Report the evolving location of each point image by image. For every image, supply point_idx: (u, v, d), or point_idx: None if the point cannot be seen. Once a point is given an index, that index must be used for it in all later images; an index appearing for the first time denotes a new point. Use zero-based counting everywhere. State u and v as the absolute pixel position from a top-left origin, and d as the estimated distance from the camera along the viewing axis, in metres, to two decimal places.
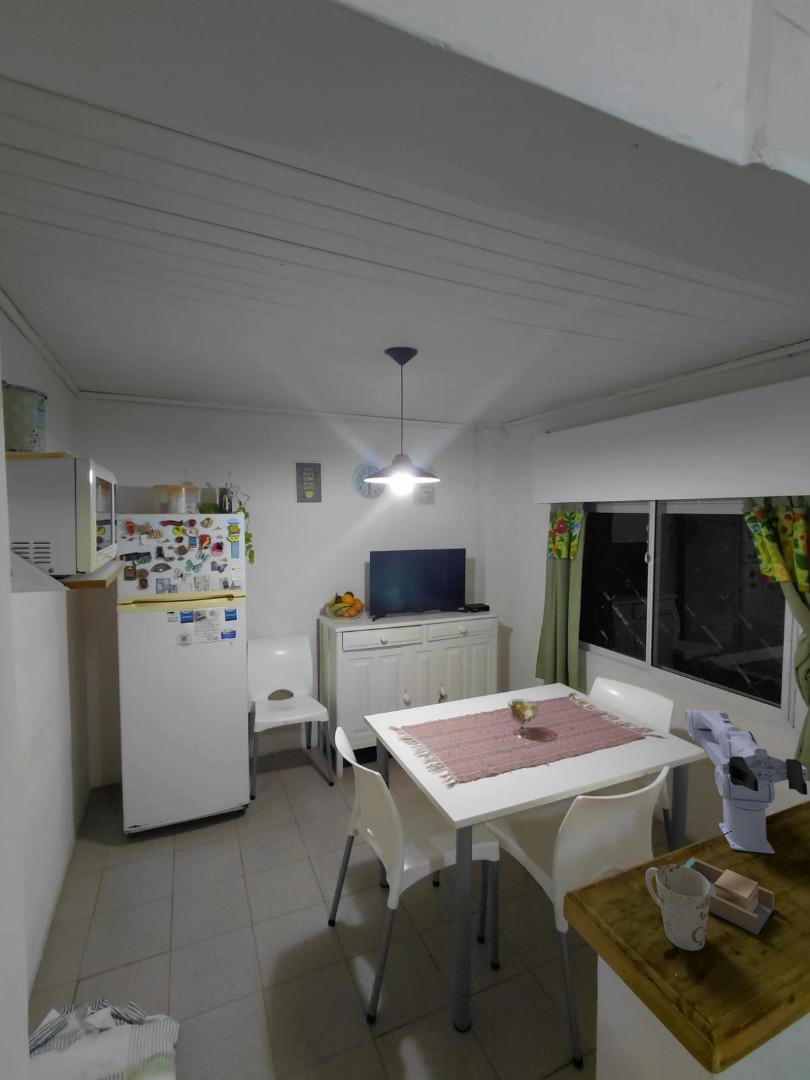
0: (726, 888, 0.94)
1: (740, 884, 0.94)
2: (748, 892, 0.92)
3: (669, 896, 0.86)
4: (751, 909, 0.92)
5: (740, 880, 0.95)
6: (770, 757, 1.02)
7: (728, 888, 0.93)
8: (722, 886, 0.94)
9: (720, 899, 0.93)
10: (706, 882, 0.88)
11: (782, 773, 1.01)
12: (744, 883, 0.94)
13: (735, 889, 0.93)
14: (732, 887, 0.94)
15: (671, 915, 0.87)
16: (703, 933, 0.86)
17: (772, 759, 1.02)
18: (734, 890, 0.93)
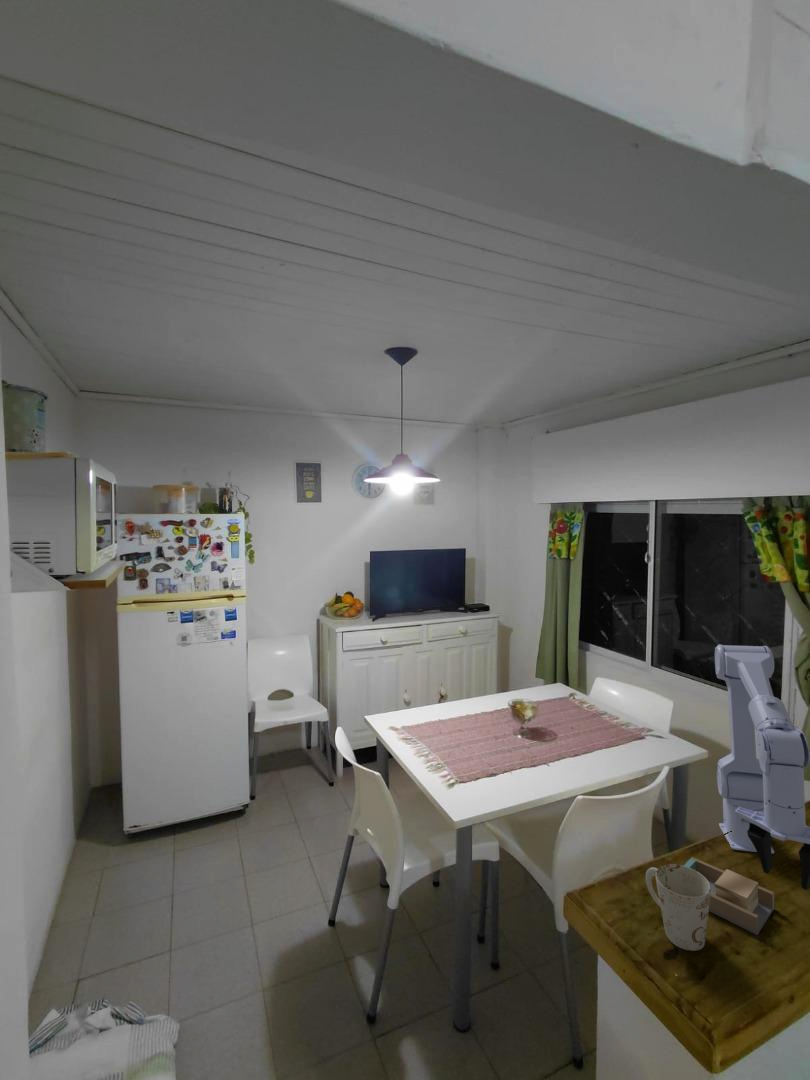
0: (726, 888, 0.94)
1: (740, 884, 0.94)
2: (748, 892, 0.92)
3: (669, 896, 0.86)
4: (751, 909, 0.92)
5: (740, 880, 0.95)
6: None
7: (728, 888, 0.93)
8: (722, 886, 0.94)
9: (720, 899, 0.93)
10: (706, 882, 0.88)
11: None
12: (744, 883, 0.94)
13: (735, 889, 0.93)
14: (732, 887, 0.94)
15: (671, 915, 0.87)
16: (703, 933, 0.86)
17: None
18: (734, 890, 0.93)
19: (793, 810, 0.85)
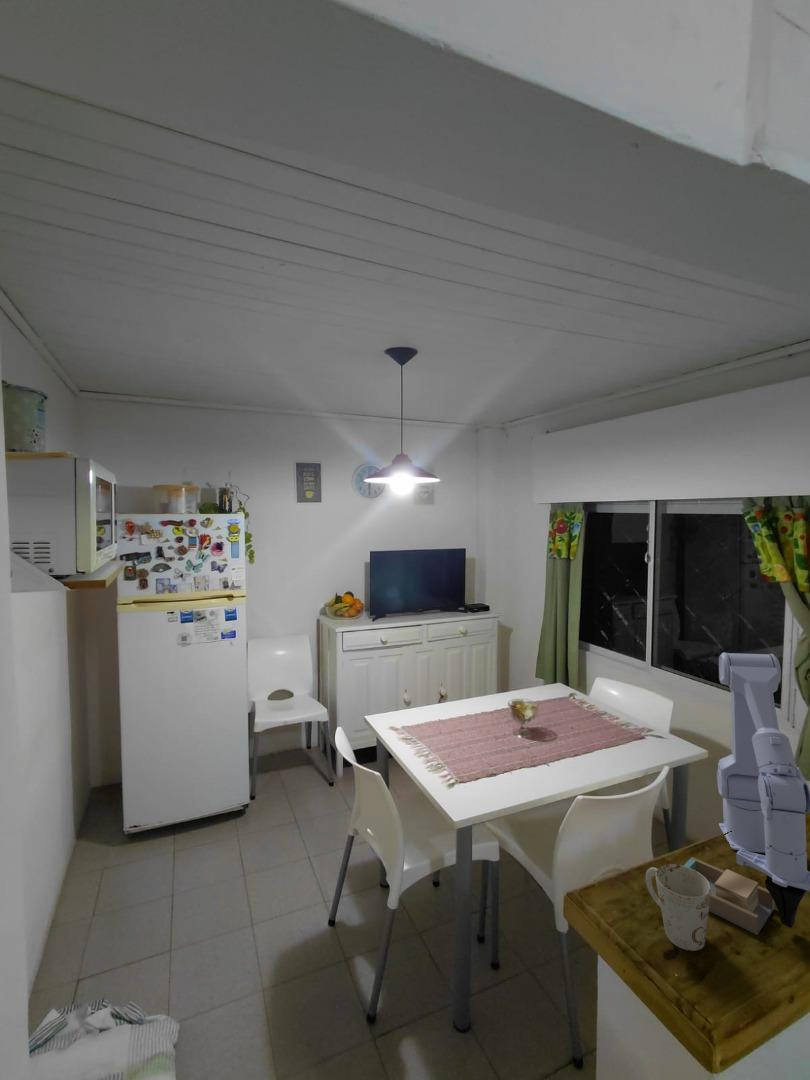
0: (726, 888, 0.94)
1: (740, 884, 0.94)
2: (748, 892, 0.92)
3: (669, 896, 0.86)
4: (751, 909, 0.92)
5: (740, 880, 0.95)
6: None
7: (728, 888, 0.93)
8: (722, 886, 0.94)
9: (720, 899, 0.93)
10: (706, 882, 0.88)
11: None
12: (744, 883, 0.94)
13: (735, 889, 0.93)
14: (732, 887, 0.94)
15: (671, 915, 0.87)
16: (703, 933, 0.86)
17: None
18: (734, 890, 0.93)
19: (795, 856, 0.86)
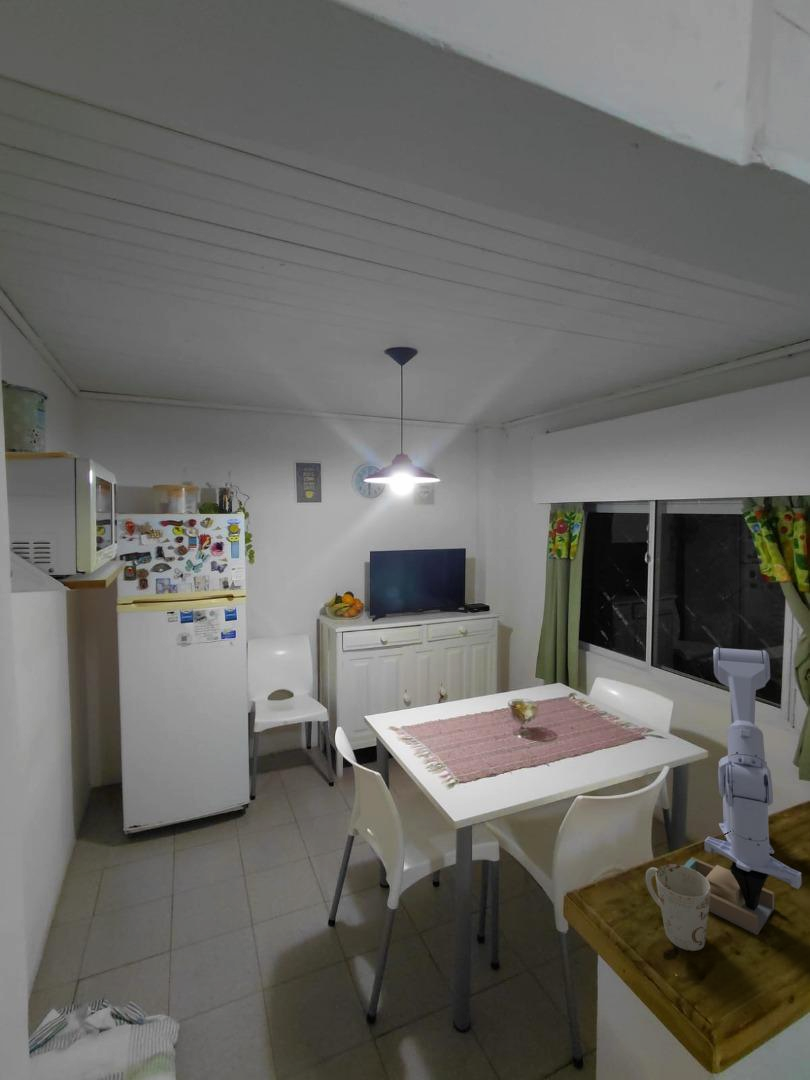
0: (716, 883, 0.95)
1: (729, 879, 0.96)
2: (737, 887, 0.94)
3: (669, 896, 0.86)
4: (740, 903, 0.94)
5: (730, 875, 0.97)
6: None
7: (718, 883, 0.95)
8: (712, 881, 0.95)
9: (720, 899, 0.93)
10: (706, 882, 0.88)
11: None
12: (733, 878, 0.96)
13: (724, 884, 0.94)
14: (722, 882, 0.95)
15: (671, 915, 0.87)
16: (703, 933, 0.86)
17: None
18: (723, 885, 0.94)
19: (757, 842, 0.90)
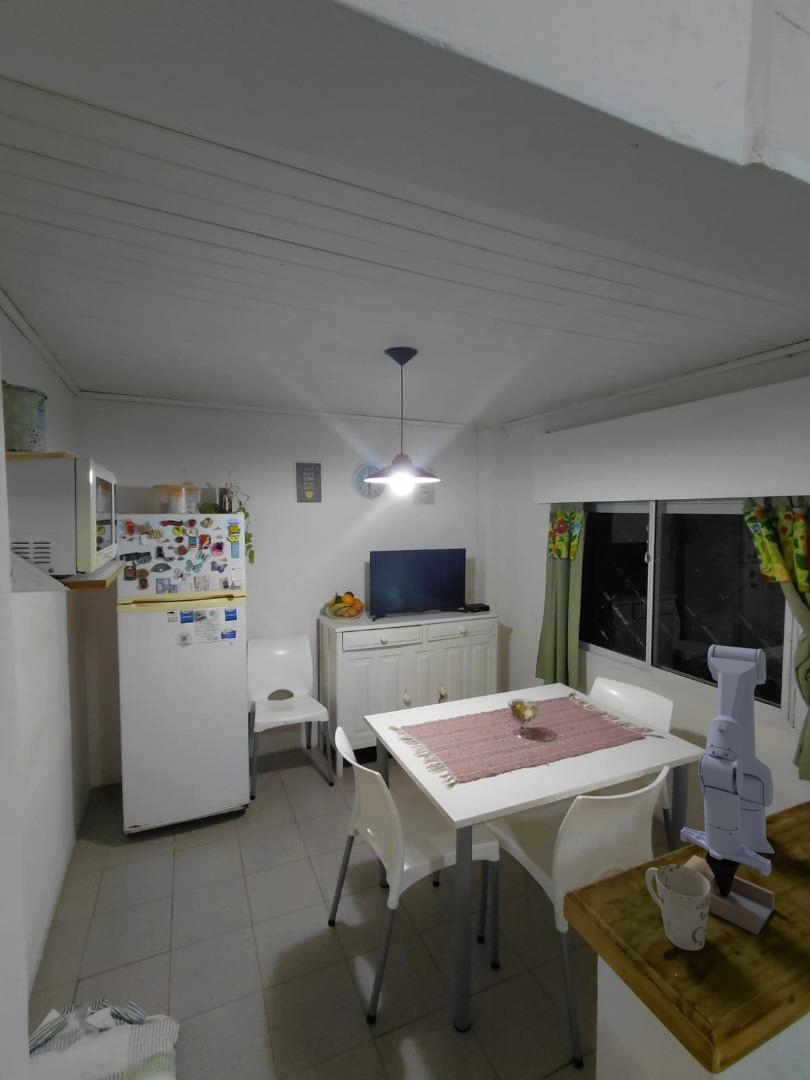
0: None
1: (705, 868, 0.99)
2: (712, 875, 0.97)
3: (669, 896, 0.86)
4: (715, 892, 0.97)
5: (706, 865, 1.00)
6: None
7: None
8: None
9: (720, 899, 0.93)
10: (706, 882, 0.88)
11: None
12: (709, 868, 0.99)
13: (700, 873, 0.98)
14: (698, 871, 0.98)
15: (671, 915, 0.87)
16: (703, 933, 0.86)
17: None
18: None
19: (729, 832, 0.93)
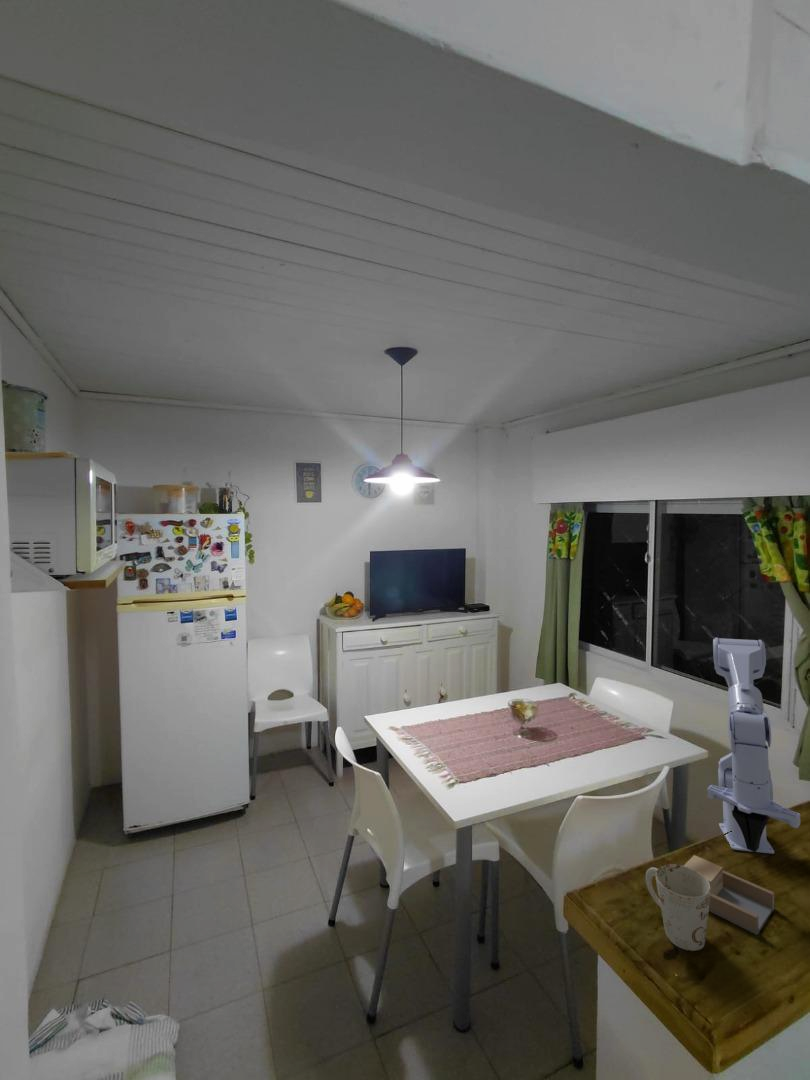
0: None
1: (705, 869, 0.99)
2: (712, 876, 0.97)
3: (669, 896, 0.86)
4: (715, 892, 0.97)
5: (706, 865, 1.00)
6: None
7: None
8: None
9: (720, 899, 0.93)
10: (706, 882, 0.88)
11: None
12: (709, 868, 0.99)
13: (700, 873, 0.98)
14: (698, 871, 0.98)
15: (671, 915, 0.87)
16: (703, 933, 0.86)
17: None
18: None
19: (758, 786, 0.94)
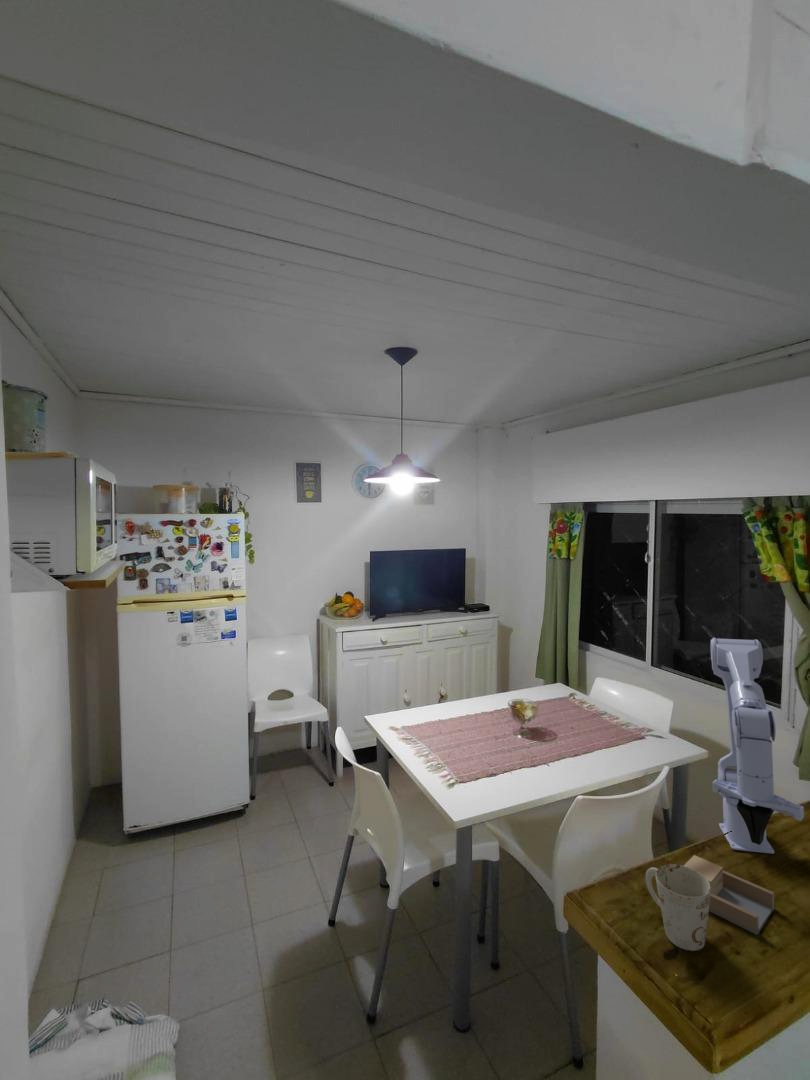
0: None
1: (705, 869, 0.99)
2: (712, 876, 0.97)
3: (669, 896, 0.86)
4: (715, 892, 0.97)
5: (706, 865, 1.00)
6: None
7: None
8: None
9: (720, 899, 0.93)
10: (706, 882, 0.88)
11: None
12: (709, 868, 0.99)
13: (700, 873, 0.98)
14: (698, 871, 0.98)
15: (671, 915, 0.87)
16: (703, 933, 0.86)
17: None
18: None
19: (762, 779, 0.96)
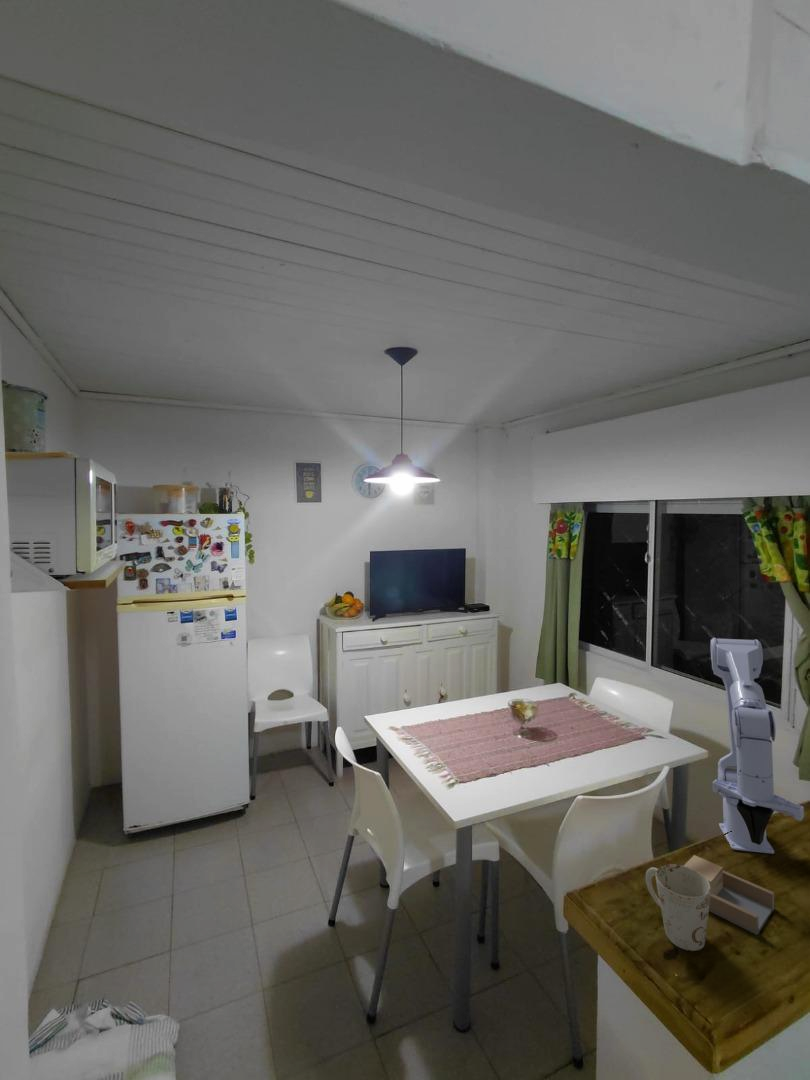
0: None
1: (705, 869, 0.99)
2: (712, 876, 0.97)
3: (669, 896, 0.86)
4: (715, 892, 0.97)
5: (706, 865, 1.00)
6: None
7: None
8: None
9: (720, 899, 0.93)
10: (706, 882, 0.88)
11: None
12: (709, 868, 0.99)
13: (700, 873, 0.98)
14: (698, 871, 0.98)
15: (671, 915, 0.87)
16: (703, 933, 0.86)
17: None
18: None
19: (762, 779, 0.96)
